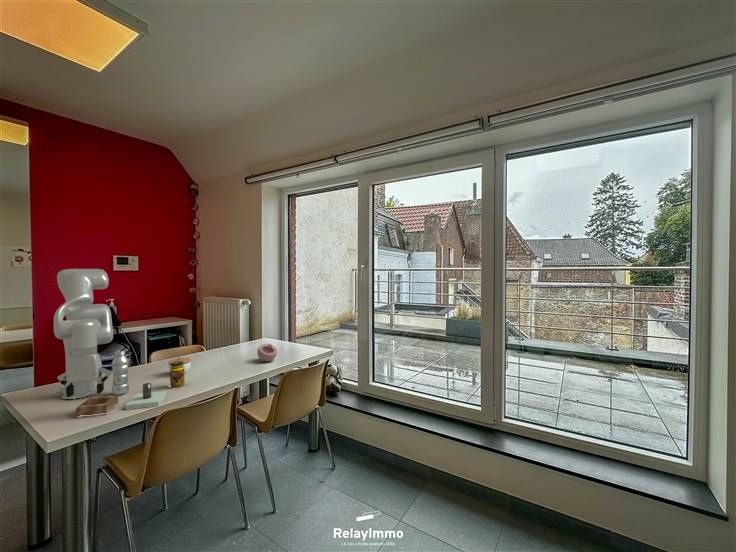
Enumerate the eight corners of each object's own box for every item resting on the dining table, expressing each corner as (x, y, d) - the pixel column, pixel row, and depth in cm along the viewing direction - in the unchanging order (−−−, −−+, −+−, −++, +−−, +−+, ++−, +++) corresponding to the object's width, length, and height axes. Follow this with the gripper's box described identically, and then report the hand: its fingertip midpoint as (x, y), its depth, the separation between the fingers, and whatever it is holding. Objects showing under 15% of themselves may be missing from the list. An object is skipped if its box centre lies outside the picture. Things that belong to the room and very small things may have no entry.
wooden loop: (75, 418, 123) (75, 407, 122) (89, 407, 132) (89, 397, 132) (106, 414, 126) (106, 404, 126) (118, 404, 135) (118, 395, 135)
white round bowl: (164, 375, 172) (164, 358, 172) (183, 369, 181) (183, 353, 181) (176, 378, 167) (176, 361, 167) (195, 372, 176) (195, 356, 176)
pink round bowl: (266, 365, 191) (266, 346, 191) (253, 362, 197) (253, 343, 197) (281, 360, 201) (281, 342, 201) (268, 357, 208) (268, 340, 207)
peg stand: (125, 409, 130) (124, 390, 130) (136, 398, 141) (136, 380, 141) (158, 406, 134) (158, 387, 133) (167, 395, 145) (167, 378, 145)
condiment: (174, 390, 152) (173, 365, 151) (164, 386, 156) (164, 362, 155) (189, 385, 158) (188, 361, 158) (179, 382, 162) (179, 359, 162)
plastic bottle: (127, 389, 151) (126, 348, 150) (131, 393, 147) (130, 350, 146) (109, 394, 146) (109, 351, 145) (113, 397, 142) (113, 353, 141)
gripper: (51, 356, 121) (52, 400, 120) (106, 352, 126) (106, 394, 126) (63, 351, 128) (64, 394, 128) (114, 348, 133) (115, 388, 133)
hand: (85, 394), depth 127 cm, fingers open, 9 cm apart
